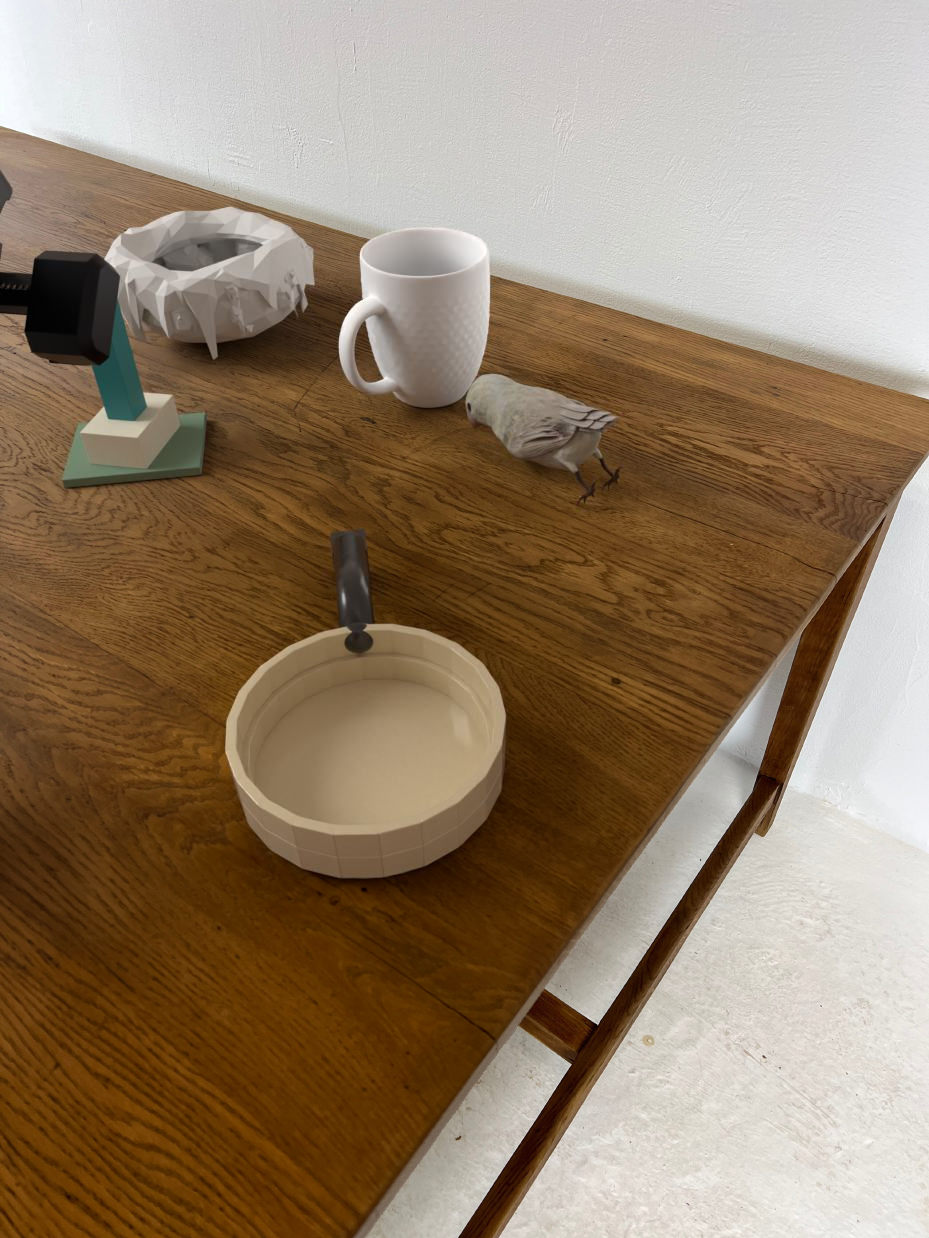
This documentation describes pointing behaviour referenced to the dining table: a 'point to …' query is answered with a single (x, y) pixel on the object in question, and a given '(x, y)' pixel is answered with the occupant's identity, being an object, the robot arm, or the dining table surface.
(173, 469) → the mat
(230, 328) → the bowl
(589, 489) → the decorative bird
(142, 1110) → the dining table surface
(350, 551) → the pan handle
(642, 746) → the dining table surface
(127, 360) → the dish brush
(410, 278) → the mug
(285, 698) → the pan
